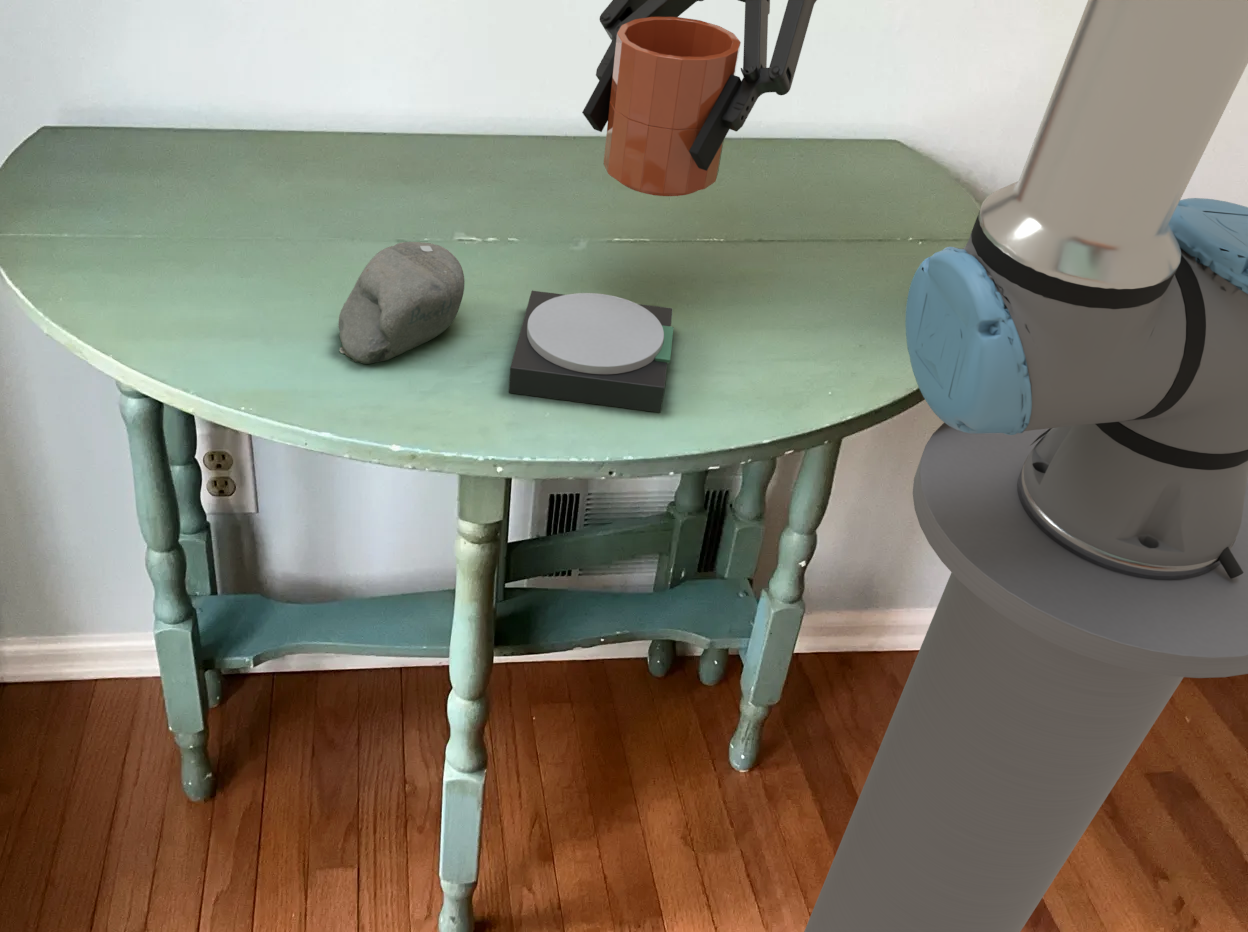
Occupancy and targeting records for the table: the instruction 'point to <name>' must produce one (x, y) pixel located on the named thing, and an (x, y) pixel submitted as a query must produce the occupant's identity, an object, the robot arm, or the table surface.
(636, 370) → the scale
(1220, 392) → the robot arm
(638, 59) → the terracotta flower pot
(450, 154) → the table surface
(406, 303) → the stone
